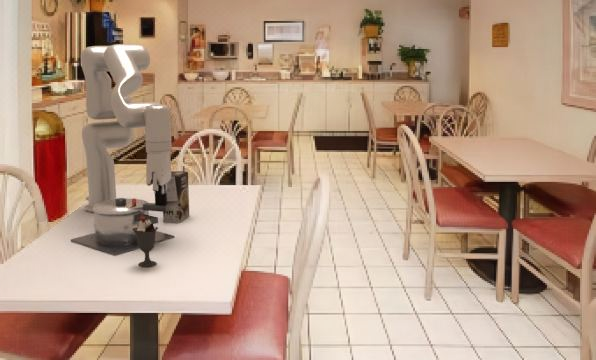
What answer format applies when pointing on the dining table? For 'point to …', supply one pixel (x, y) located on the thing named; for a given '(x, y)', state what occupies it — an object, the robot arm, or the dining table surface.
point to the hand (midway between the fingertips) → (161, 206)
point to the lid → (127, 207)
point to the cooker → (117, 233)
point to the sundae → (145, 239)
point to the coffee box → (177, 197)
